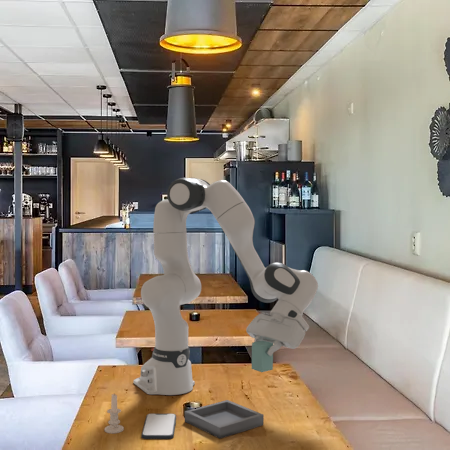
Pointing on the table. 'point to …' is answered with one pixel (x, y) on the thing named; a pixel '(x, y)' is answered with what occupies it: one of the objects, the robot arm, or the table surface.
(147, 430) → the smartphone
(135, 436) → the table surface
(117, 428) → the candle
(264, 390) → the table surface
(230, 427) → the charcoal tray
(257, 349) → the sage block
